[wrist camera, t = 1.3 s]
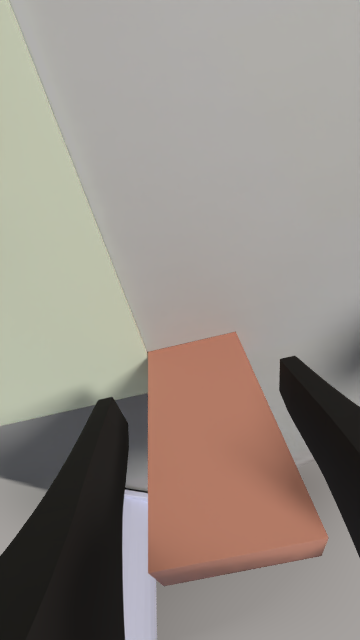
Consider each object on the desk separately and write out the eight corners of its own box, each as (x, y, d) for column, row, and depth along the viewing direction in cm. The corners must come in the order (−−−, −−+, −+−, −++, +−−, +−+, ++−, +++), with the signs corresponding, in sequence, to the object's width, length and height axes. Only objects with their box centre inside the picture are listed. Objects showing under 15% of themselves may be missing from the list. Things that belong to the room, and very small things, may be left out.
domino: (238, 355, 14) (321, 555, 7) (156, 373, 14) (163, 585, 7) (235, 331, 13) (328, 537, 6) (148, 352, 13) (147, 572, 6)
